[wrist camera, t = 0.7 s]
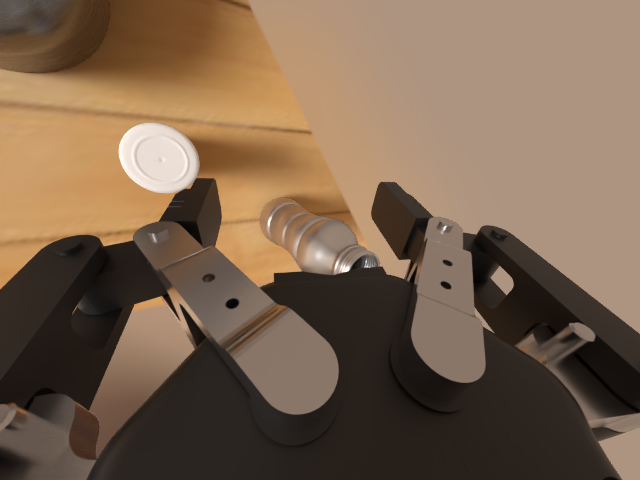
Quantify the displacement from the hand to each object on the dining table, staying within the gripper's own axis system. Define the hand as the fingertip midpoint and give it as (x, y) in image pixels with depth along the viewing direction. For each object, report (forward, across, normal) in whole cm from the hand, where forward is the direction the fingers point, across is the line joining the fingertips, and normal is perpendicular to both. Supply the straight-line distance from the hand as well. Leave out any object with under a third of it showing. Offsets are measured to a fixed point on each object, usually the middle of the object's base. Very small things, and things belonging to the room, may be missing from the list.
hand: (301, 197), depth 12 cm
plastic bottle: (+20, 0, +14) cm, 24 cm away
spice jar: (+19, +13, +5) cm, 23 cm away
